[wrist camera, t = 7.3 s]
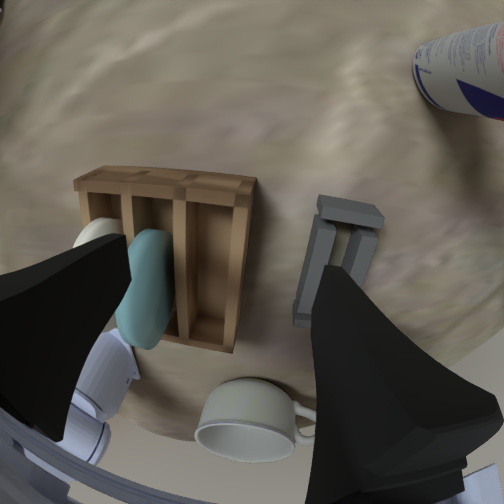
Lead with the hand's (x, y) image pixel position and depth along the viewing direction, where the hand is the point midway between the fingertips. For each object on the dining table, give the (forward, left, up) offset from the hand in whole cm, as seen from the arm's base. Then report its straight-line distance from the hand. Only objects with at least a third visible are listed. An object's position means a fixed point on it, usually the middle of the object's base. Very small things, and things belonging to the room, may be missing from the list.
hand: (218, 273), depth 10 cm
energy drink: (+11, -12, -11) cm, 20 cm away
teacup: (-24, -4, -11) cm, 26 cm away
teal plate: (-5, +6, -10) cm, 12 cm away
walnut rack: (-6, +6, -11) cm, 13 cm away
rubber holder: (-5, -7, -11) cm, 13 cm away
